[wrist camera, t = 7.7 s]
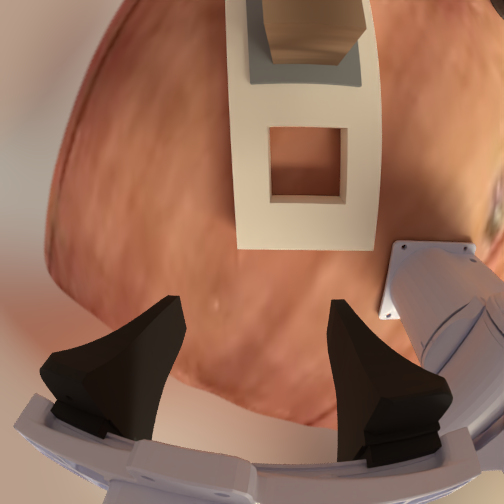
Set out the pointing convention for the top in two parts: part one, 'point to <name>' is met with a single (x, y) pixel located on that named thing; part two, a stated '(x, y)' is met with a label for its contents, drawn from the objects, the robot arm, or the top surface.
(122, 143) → the top surface
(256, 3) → the slate mat
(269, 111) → the pocket board
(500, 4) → the beverage cup
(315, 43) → the walnut block
